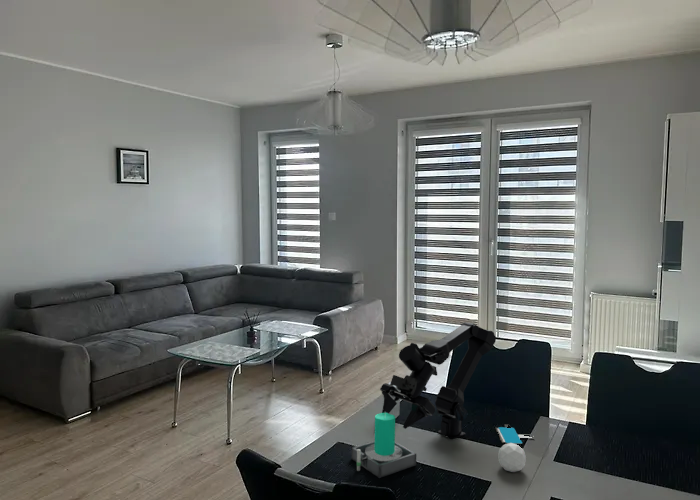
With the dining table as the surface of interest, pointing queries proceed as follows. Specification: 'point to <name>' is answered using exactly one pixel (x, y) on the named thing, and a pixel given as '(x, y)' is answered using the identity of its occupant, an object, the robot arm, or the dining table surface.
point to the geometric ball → (512, 457)
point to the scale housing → (387, 467)
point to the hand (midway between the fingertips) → (392, 423)
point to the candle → (384, 434)
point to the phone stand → (509, 435)
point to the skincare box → (397, 407)
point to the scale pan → (381, 458)
